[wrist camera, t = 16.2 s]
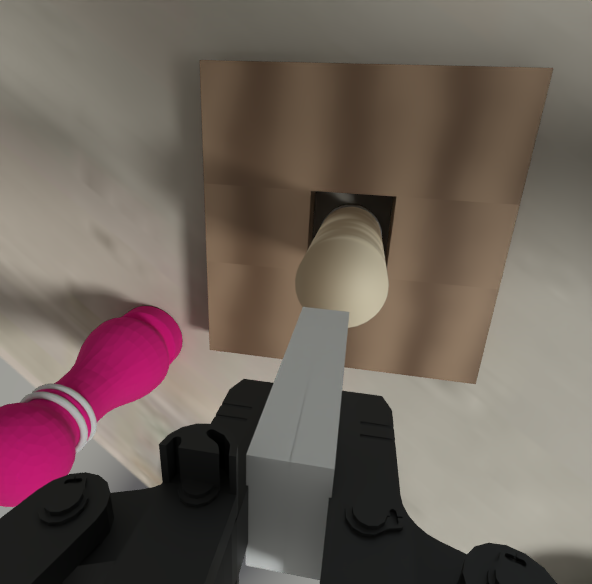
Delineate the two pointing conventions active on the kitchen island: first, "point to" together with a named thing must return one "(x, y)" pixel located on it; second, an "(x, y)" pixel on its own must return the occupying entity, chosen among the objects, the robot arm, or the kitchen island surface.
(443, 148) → the walnut board
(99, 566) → the robot arm
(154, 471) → the kitchen island surface
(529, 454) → the kitchen island surface
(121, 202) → the kitchen island surface
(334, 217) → the beech peg
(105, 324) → the pepper mill
